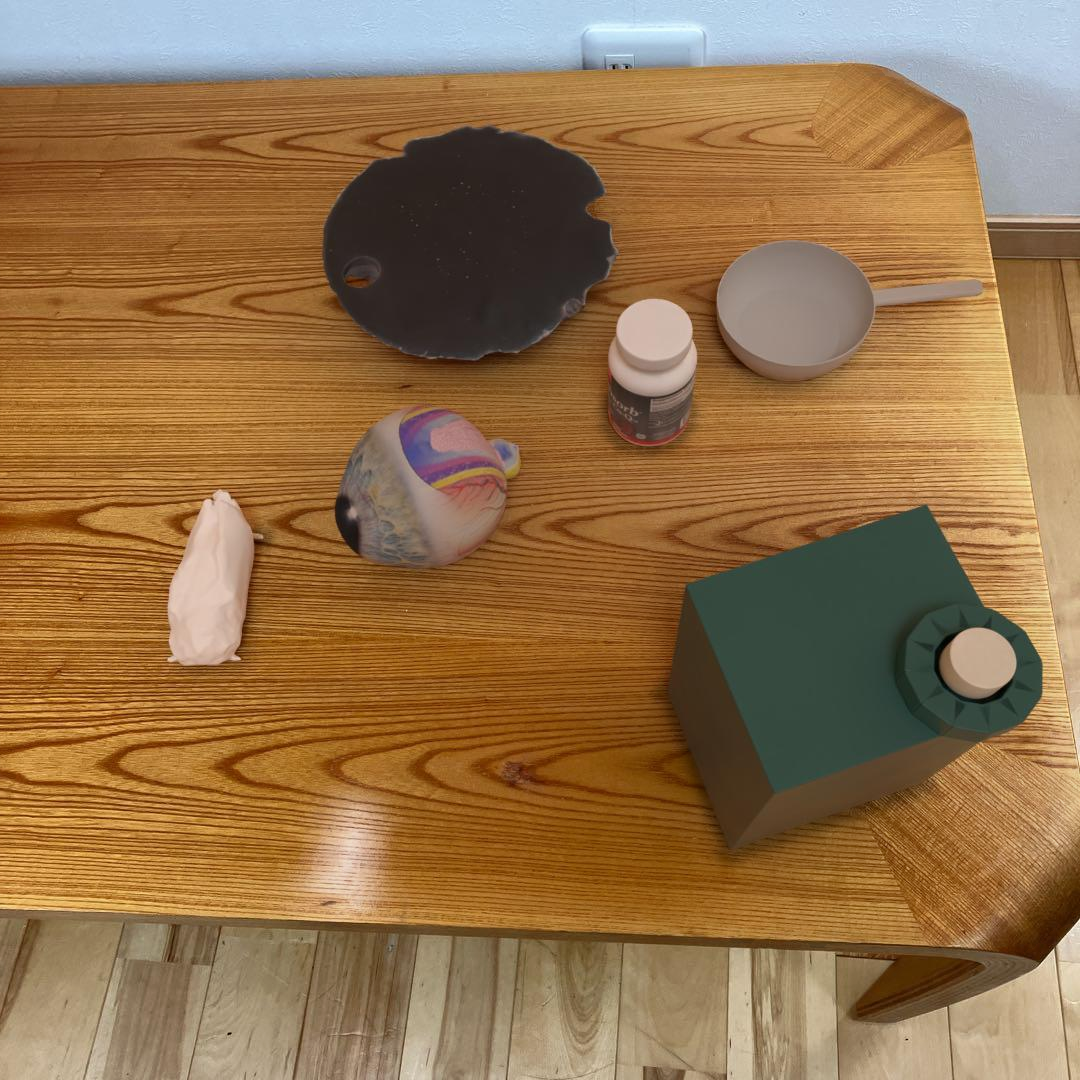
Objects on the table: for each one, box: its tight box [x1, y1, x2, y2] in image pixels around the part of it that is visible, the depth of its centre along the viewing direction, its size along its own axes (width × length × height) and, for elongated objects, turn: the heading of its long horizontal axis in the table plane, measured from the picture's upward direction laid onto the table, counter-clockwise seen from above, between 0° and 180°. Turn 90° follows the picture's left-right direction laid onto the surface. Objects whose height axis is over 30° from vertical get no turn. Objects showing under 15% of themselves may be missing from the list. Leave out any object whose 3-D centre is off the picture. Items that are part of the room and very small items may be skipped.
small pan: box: [715, 239, 985, 382], centre depth 70 cm, size 11×18×4 cm, turn 92°
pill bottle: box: [607, 298, 698, 447], centre depth 65 cm, size 6×6×10 cm
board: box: [321, 124, 619, 362], centre depth 73 cm, size 22×22×5 cm
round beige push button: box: [939, 628, 1016, 699], centre depth 41 cm, size 3×3×2 cm
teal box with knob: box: [666, 504, 1044, 851], centre depth 51 cm, size 12×11×19 cm
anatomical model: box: [334, 404, 522, 570], centre depth 62 cm, size 10×12×10 cm
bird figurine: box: [167, 488, 264, 667], centre depth 63 cm, size 5×7×10 cm
